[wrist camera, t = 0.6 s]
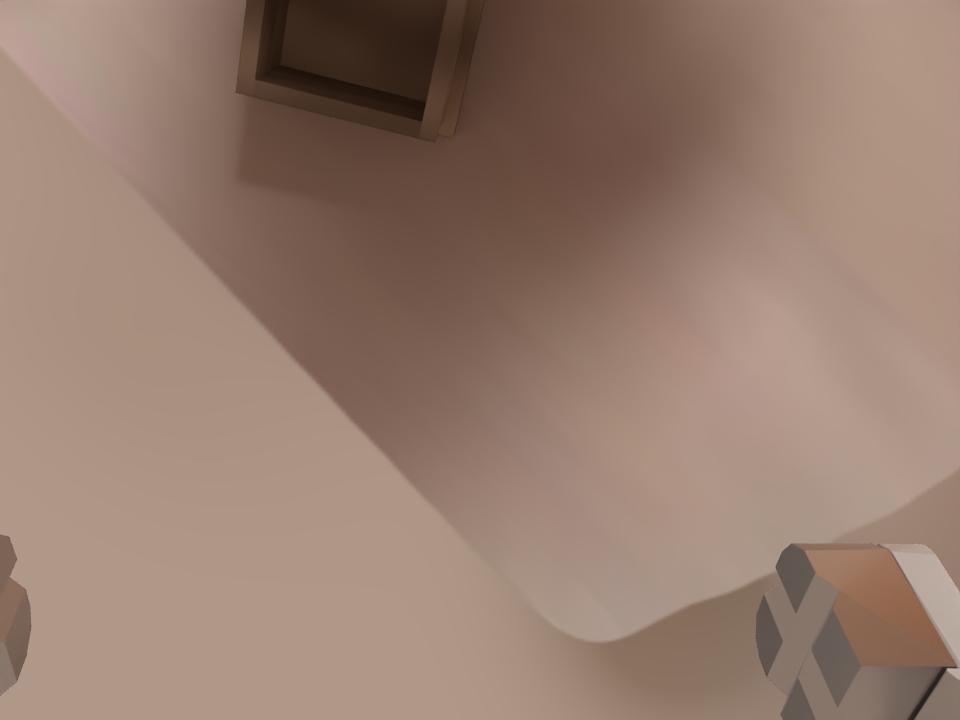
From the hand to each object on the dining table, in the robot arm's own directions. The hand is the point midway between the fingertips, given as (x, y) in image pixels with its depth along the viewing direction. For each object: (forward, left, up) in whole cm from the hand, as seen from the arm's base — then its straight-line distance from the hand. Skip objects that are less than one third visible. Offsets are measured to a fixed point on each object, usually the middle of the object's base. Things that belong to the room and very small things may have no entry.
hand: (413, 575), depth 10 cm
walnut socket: (-1, -7, -42) cm, 42 cm away
